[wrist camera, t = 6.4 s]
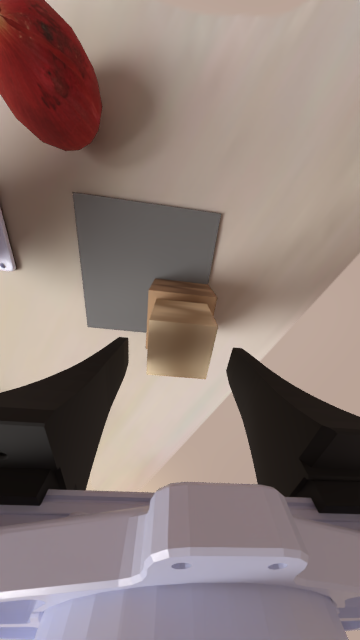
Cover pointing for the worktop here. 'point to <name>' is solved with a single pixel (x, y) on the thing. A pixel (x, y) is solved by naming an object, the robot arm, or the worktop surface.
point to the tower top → (178, 297)
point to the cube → (180, 339)
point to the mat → (137, 255)
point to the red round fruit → (47, 75)
